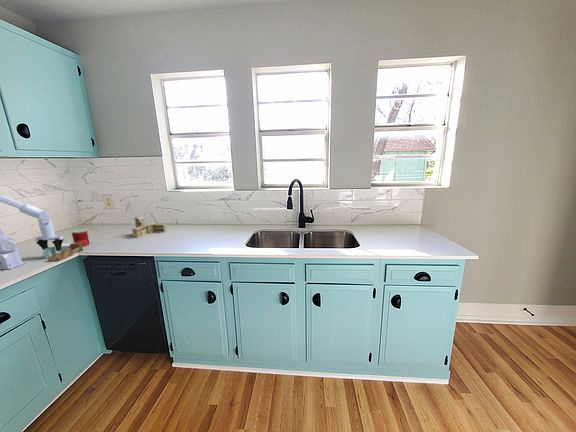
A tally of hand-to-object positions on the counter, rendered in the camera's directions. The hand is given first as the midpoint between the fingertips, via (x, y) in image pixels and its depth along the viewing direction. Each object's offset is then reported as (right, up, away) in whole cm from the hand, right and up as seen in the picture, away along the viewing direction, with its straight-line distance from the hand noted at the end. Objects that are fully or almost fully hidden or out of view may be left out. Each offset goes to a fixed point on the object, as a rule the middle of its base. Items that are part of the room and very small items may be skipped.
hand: (52, 251), depth 151 cm
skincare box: (-9, +1, +9) cm, 12 cm away
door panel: (0, -3, +1) cm, 3 cm away
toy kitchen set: (+37, +7, +43) cm, 57 cm away
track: (+8, -3, +1) cm, 9 cm away
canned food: (+2, +1, +19) cm, 19 cm away
